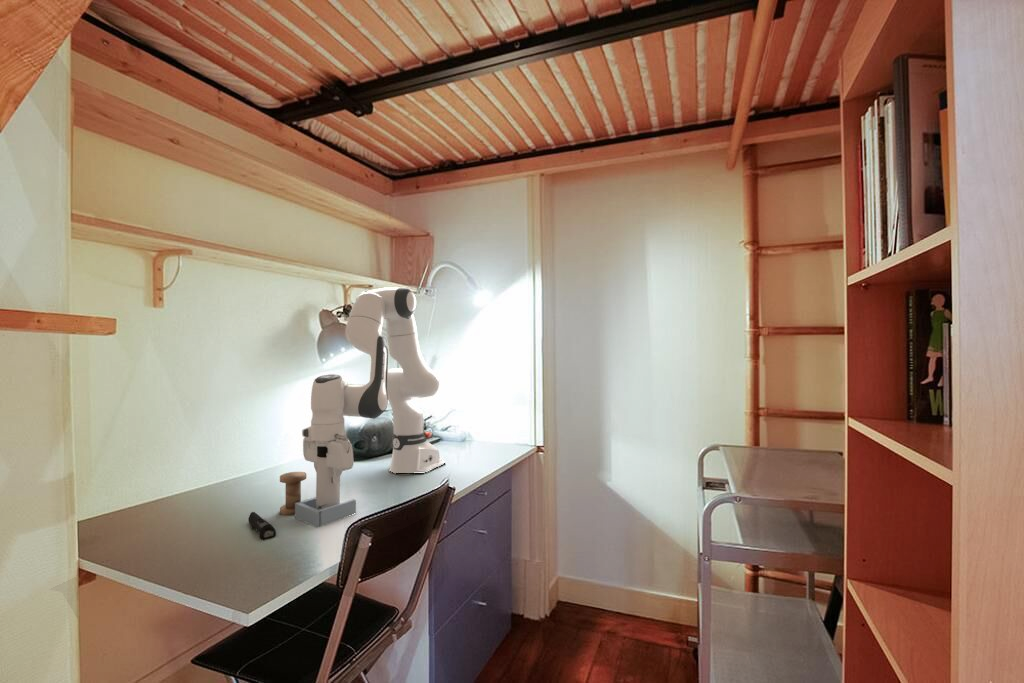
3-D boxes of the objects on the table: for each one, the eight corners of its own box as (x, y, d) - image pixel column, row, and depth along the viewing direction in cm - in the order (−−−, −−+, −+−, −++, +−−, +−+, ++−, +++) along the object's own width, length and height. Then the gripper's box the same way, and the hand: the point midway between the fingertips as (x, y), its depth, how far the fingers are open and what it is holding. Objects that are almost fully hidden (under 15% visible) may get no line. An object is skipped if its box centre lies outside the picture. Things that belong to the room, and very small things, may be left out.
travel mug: (319, 520, 122) (320, 446, 123) (313, 512, 128) (314, 442, 128) (342, 515, 126) (343, 444, 126) (336, 508, 131) (337, 440, 132)
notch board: (333, 505, 135) (333, 491, 135) (355, 513, 128) (356, 499, 128) (295, 517, 125) (295, 503, 125) (317, 527, 118) (317, 512, 118)
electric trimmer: (260, 520, 124) (260, 509, 124) (277, 537, 113) (277, 525, 113) (245, 524, 122) (245, 512, 122) (260, 542, 110) (260, 529, 110)
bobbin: (298, 504, 135) (298, 470, 135) (311, 509, 131) (311, 474, 131) (275, 511, 129) (275, 475, 129) (287, 517, 125) (287, 480, 125)
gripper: (359, 434, 123) (359, 484, 123) (319, 426, 136) (319, 471, 136) (338, 438, 118) (338, 491, 118) (298, 429, 131) (298, 476, 131)
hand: (327, 480), depth 127 cm, fingers closed on travel mug, 6 cm apart
